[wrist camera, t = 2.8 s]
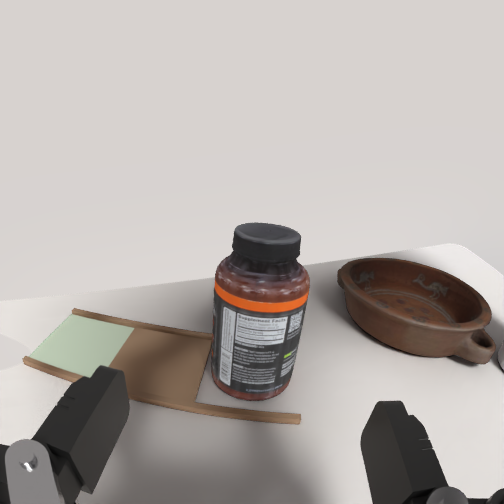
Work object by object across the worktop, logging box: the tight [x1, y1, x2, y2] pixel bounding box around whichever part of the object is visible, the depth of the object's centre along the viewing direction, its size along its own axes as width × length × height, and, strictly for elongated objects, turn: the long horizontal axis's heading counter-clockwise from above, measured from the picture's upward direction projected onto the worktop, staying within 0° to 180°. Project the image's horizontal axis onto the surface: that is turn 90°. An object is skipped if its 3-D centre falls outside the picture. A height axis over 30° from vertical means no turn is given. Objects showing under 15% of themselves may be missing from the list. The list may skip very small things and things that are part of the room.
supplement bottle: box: [211, 223, 310, 401], centre depth 21 cm, size 6×6×11 cm
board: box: [23, 308, 301, 424], centre depth 23 cm, size 21×9×1 cm, turn 86°
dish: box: [337, 258, 496, 364], centre depth 32 cm, size 18×22×5 cm
